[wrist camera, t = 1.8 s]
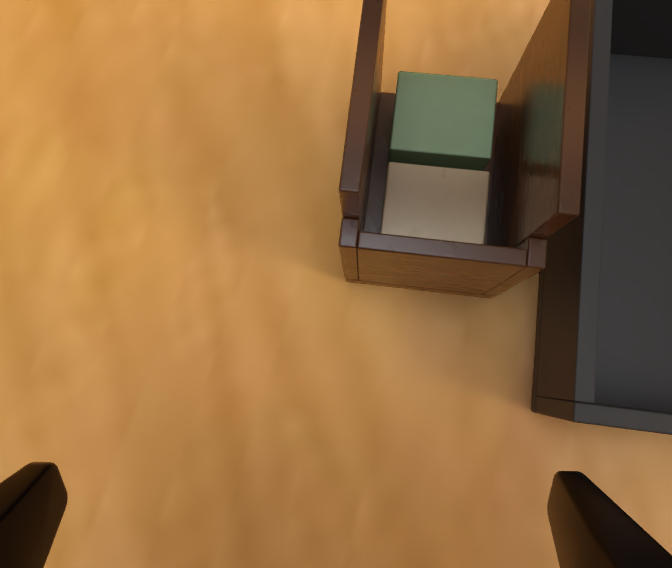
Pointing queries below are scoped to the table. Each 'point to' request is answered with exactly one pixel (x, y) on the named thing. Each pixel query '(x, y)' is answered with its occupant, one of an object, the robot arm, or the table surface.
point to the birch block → (435, 202)
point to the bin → (615, 237)
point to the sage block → (443, 121)
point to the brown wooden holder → (504, 167)
